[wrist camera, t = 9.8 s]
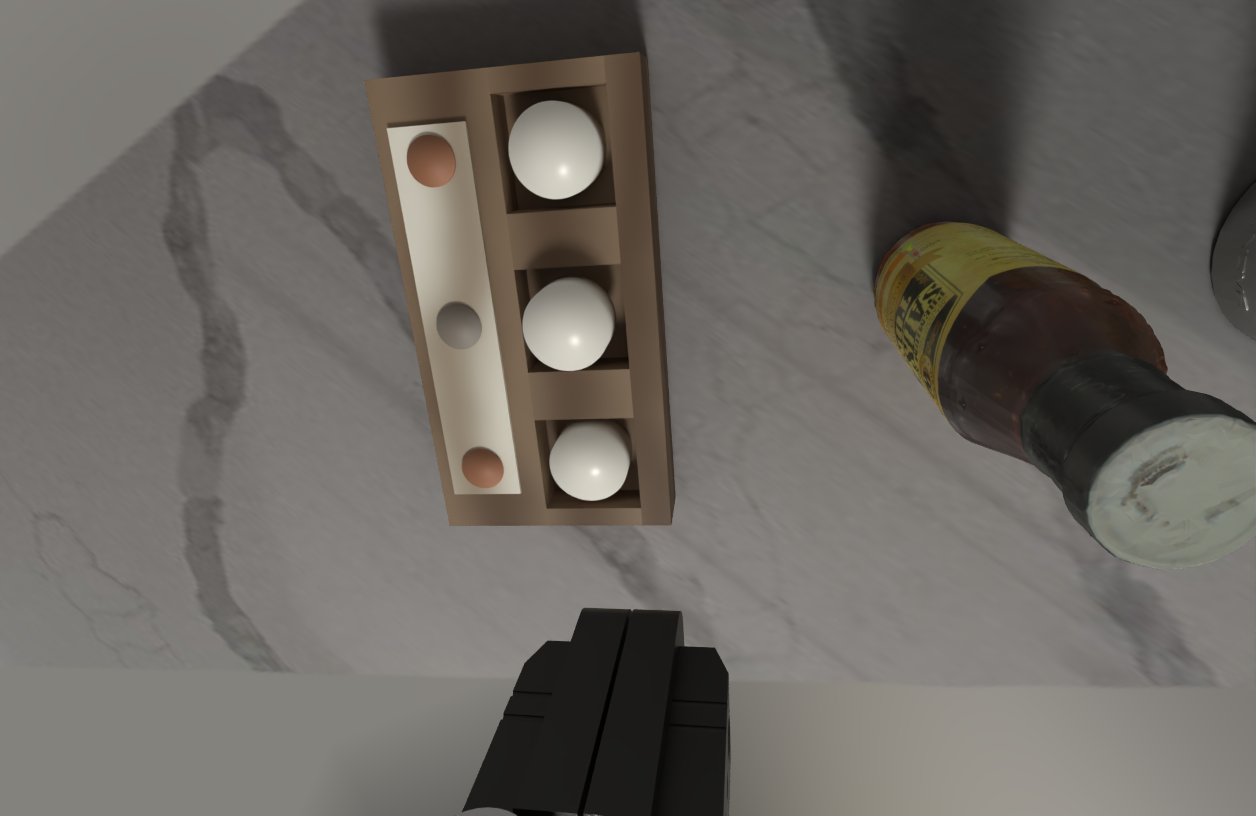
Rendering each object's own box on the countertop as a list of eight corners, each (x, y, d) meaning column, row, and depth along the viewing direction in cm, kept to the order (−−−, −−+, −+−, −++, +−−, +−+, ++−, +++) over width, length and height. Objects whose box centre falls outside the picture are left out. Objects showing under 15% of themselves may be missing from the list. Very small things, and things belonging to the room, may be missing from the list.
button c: (602, 98, 32) (594, 96, 30) (610, 191, 33) (603, 195, 31) (515, 106, 32) (502, 105, 30) (526, 198, 34) (514, 202, 32)
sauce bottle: (855, 240, 34) (1007, 376, 15) (997, 198, 32) (1353, 294, 14) (883, 368, 36) (1046, 626, 17) (1017, 335, 34) (1352, 577, 16)
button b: (612, 273, 33) (605, 282, 31) (619, 356, 34) (613, 369, 33) (528, 278, 34) (516, 286, 32) (539, 359, 35) (528, 372, 33)
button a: (629, 413, 37) (624, 428, 35) (635, 482, 38) (630, 500, 37) (553, 415, 38) (544, 430, 36) (562, 483, 39) (554, 501, 37)
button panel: (647, 58, 32) (638, 51, 29) (675, 497, 40) (670, 528, 37) (394, 84, 34) (360, 79, 31) (468, 499, 41) (447, 528, 38)
